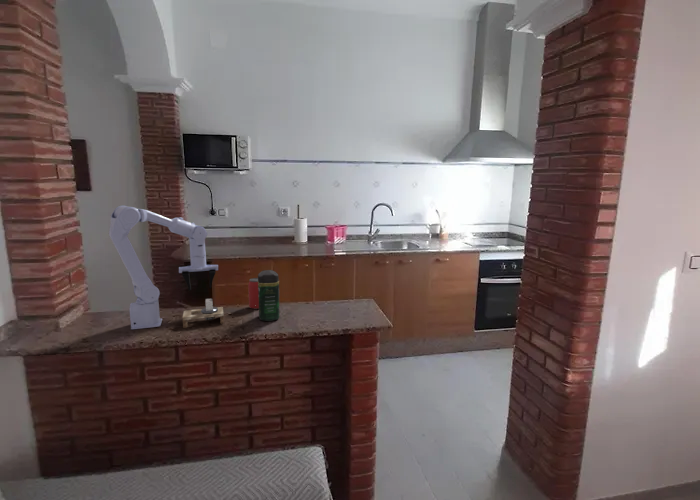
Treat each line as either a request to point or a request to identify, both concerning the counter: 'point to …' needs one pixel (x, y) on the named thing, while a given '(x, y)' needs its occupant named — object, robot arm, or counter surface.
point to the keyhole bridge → (201, 315)
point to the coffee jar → (268, 295)
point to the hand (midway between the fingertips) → (200, 288)
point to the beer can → (253, 293)
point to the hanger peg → (209, 309)
